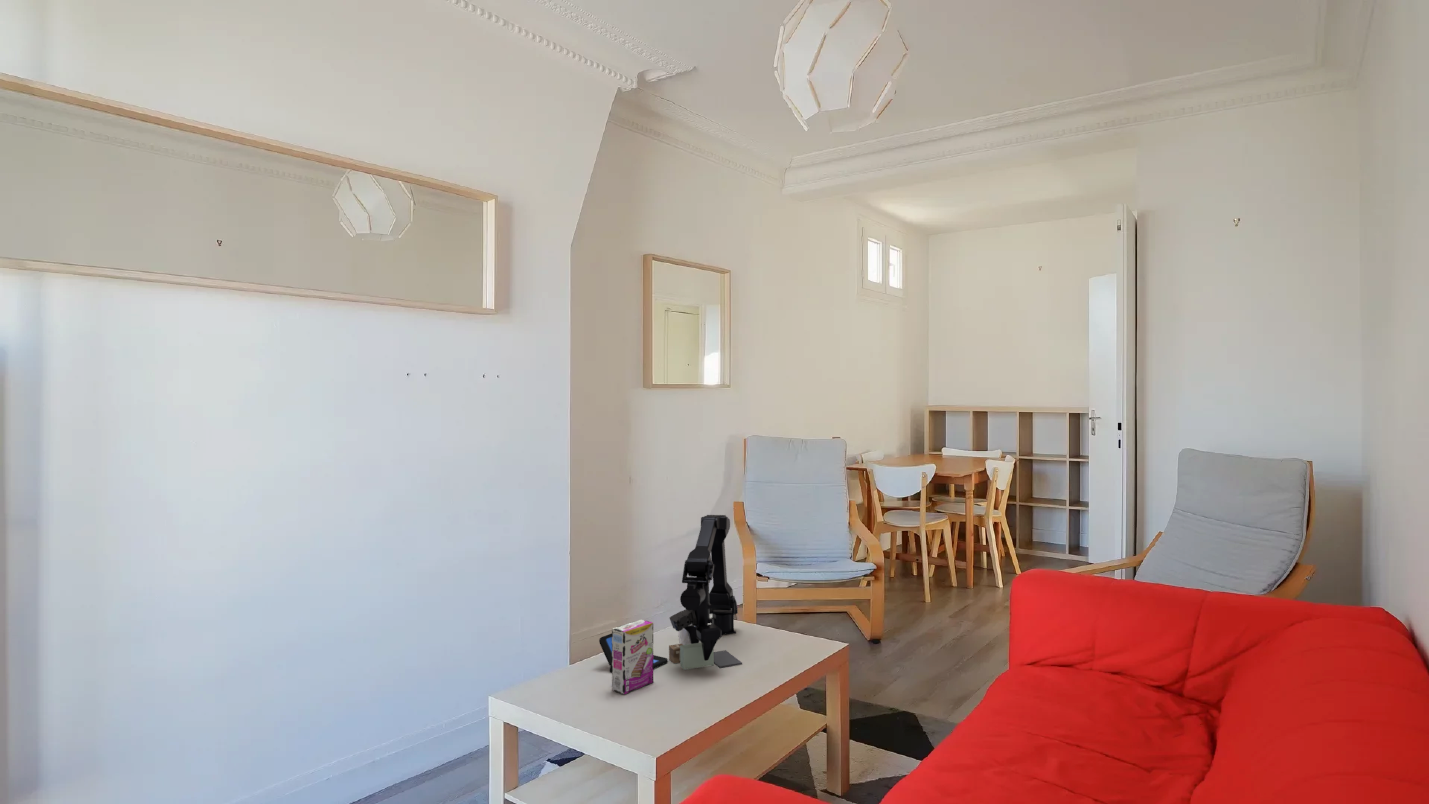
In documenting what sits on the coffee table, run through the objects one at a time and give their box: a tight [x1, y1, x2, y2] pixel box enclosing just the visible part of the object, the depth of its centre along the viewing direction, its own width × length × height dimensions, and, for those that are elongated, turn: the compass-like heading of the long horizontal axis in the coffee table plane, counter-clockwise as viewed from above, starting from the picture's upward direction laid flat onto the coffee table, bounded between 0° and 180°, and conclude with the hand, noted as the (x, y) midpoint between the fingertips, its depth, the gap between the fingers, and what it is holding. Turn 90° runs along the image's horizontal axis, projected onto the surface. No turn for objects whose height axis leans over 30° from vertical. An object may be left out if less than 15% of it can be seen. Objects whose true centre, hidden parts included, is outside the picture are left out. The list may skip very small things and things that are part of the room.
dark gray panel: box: [714, 649, 743, 669], centre depth 221 cm, size 7×12×1 cm, turn 22°
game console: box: [598, 632, 669, 673], centre depth 217 cm, size 16×14×9 cm
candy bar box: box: [611, 619, 654, 695], centre depth 201 cm, size 11×5×16 cm, turn 141°
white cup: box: [677, 628, 701, 645], centre depth 229 cm, size 8×8×10 cm
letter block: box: [668, 643, 683, 664], centre depth 221 cm, size 4×4×4 cm
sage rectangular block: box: [679, 643, 715, 671], centre depth 216 cm, size 9×3×6 cm, turn 112°
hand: (700, 655), depth 217 cm, fingers open, 9 cm apart
